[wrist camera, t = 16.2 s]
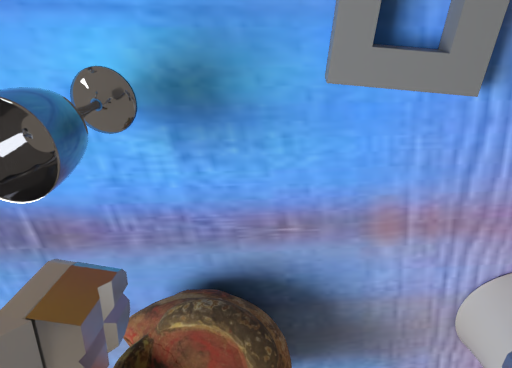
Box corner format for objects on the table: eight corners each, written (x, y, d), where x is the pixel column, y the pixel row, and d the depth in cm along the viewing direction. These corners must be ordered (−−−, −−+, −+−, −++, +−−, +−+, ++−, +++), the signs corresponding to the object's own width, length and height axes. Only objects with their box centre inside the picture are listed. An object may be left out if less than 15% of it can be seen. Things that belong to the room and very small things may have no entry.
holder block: (516, -78, 29) (538, -86, 27) (463, 89, 35) (477, 96, 32) (349, -88, 30) (354, -97, 27) (324, 76, 36) (326, 83, 33)
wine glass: (150, 85, 38) (70, 131, 25) (127, 149, 42) (45, 220, 28) (76, 47, 37) (-49, 73, 24) (59, 116, 41) (-60, 173, 27)
